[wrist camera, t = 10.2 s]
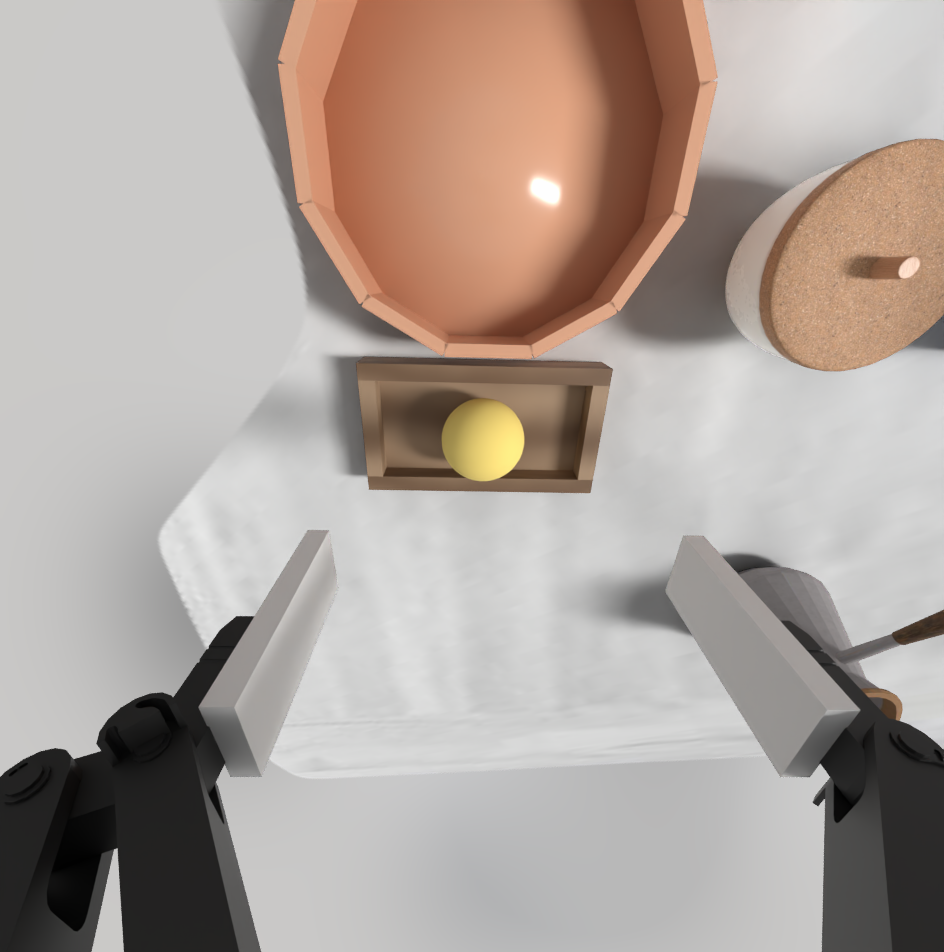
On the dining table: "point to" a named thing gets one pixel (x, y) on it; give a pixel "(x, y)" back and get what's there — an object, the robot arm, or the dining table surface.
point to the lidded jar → (846, 261)
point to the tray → (459, 380)
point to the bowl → (495, 156)
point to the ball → (482, 439)
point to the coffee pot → (833, 625)
